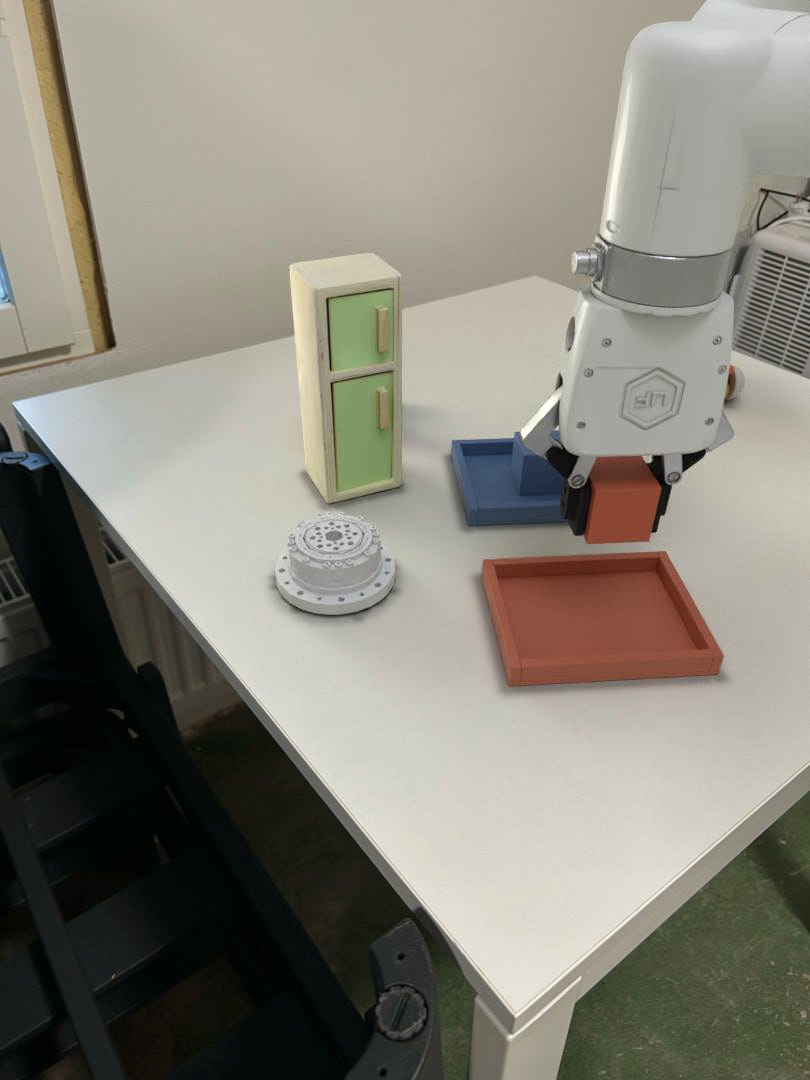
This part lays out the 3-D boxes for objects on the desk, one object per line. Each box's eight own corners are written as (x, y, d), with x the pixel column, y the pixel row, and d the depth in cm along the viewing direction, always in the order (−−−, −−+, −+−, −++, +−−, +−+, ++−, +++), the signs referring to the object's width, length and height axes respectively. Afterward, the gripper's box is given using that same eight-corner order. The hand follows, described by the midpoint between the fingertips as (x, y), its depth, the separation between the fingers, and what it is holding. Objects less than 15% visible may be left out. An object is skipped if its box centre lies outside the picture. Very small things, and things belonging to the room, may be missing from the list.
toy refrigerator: (328, 510, 77) (316, 289, 65) (303, 472, 83) (287, 261, 70) (405, 491, 80) (408, 276, 67) (376, 456, 85) (374, 250, 73)
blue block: (554, 469, 83) (560, 429, 80) (565, 493, 79) (571, 453, 76) (510, 471, 82) (514, 431, 80) (519, 495, 79) (523, 455, 76)
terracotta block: (629, 506, 61) (640, 453, 59) (649, 541, 58) (662, 487, 55) (570, 508, 61) (578, 455, 58) (586, 544, 57) (596, 490, 55)
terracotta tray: (661, 568, 71) (665, 550, 70) (718, 674, 61) (724, 655, 59) (481, 576, 70) (482, 558, 68) (508, 686, 59) (511, 667, 58)
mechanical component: (404, 610, 66) (385, 538, 74) (405, 567, 63) (385, 496, 71) (279, 624, 65) (273, 548, 72) (274, 580, 62) (269, 507, 70)
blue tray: (597, 450, 87) (600, 434, 86) (634, 518, 77) (638, 501, 75) (450, 455, 86) (451, 439, 84) (468, 526, 75) (469, 508, 74)
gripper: (530, 294, 45) (502, 560, 56) (827, 289, 46) (744, 550, 57) (505, 252, 51) (484, 499, 62) (769, 248, 52) (703, 491, 63)
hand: (609, 521), depth 59 cm, fingers closed on terracotta block, 4 cm apart
